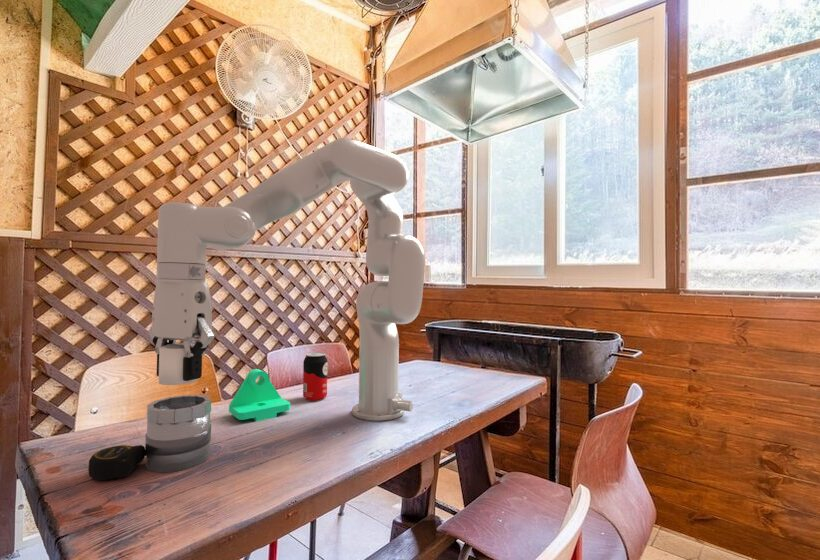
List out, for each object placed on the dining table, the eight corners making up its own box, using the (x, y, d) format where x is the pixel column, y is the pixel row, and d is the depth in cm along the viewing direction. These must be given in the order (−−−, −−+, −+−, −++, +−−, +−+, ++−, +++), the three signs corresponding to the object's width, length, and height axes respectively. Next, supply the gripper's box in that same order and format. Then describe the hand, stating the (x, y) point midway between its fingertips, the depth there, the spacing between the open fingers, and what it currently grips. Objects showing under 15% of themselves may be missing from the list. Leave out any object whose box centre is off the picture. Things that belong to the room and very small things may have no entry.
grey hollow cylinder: (223, 454, 74) (224, 398, 74) (171, 477, 65) (172, 414, 65) (185, 444, 78) (186, 392, 78) (131, 465, 69) (132, 406, 69)
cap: (205, 379, 73) (206, 344, 73) (174, 386, 67) (175, 348, 67) (182, 375, 75) (183, 341, 75) (150, 382, 70) (151, 345, 70)
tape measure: (127, 483, 63) (127, 459, 63) (77, 486, 62) (78, 462, 62) (147, 464, 70) (148, 442, 70) (103, 466, 69) (103, 444, 69)
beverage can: (309, 403, 105) (309, 357, 105) (299, 397, 110) (299, 353, 110) (331, 399, 109) (331, 354, 109) (320, 394, 114) (321, 351, 114)
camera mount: (239, 425, 89) (240, 378, 89) (228, 416, 95) (229, 372, 95) (291, 414, 97) (292, 371, 97) (278, 406, 103) (279, 366, 103)
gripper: (234, 275, 71) (232, 378, 71) (169, 274, 78) (166, 368, 78) (196, 274, 64) (194, 388, 64) (128, 273, 71) (125, 376, 71)
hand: (179, 376), depth 71 cm, fingers closed on cap, 6 cm apart
